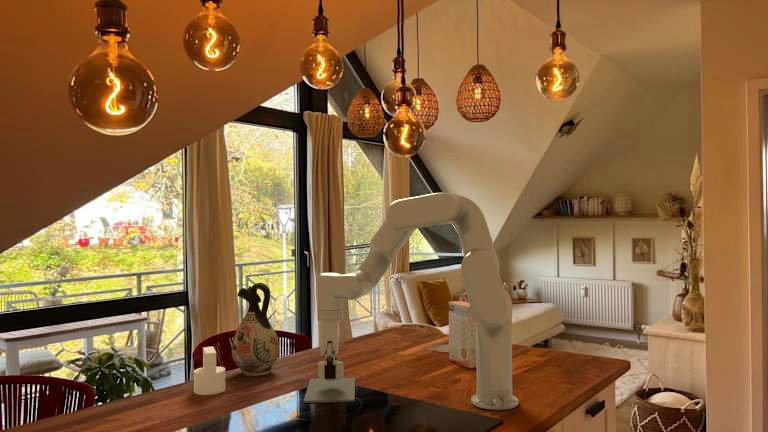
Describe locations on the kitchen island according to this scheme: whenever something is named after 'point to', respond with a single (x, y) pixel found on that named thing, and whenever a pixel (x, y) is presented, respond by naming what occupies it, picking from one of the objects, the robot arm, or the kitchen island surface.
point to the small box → (338, 371)
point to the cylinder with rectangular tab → (209, 375)
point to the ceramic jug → (255, 335)
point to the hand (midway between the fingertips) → (330, 374)
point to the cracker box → (462, 334)
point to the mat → (330, 391)
